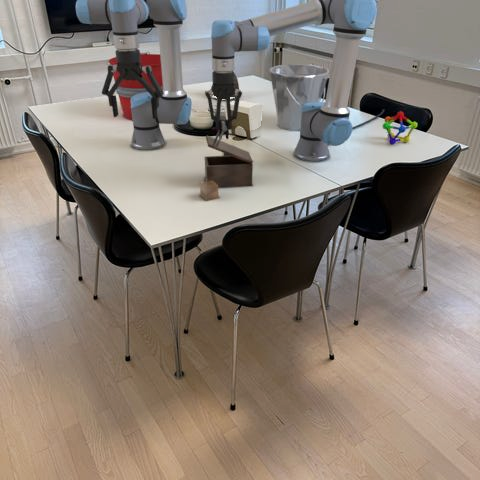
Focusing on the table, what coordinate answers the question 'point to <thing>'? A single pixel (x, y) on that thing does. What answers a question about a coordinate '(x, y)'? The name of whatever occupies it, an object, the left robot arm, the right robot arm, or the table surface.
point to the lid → (227, 146)
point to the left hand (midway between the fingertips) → (135, 116)
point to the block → (209, 190)
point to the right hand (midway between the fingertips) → (223, 138)
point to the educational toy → (398, 128)
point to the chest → (228, 171)
